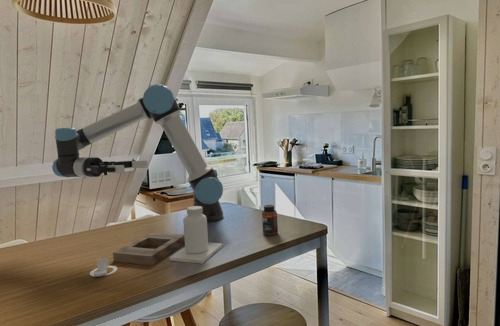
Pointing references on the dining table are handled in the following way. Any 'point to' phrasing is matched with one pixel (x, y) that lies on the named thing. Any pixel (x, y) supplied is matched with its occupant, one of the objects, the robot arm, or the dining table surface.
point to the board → (196, 258)
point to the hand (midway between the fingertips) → (136, 166)
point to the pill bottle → (195, 230)
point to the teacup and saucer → (102, 268)
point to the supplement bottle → (269, 220)
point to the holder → (149, 256)
